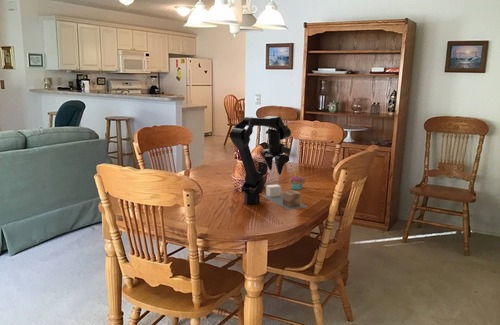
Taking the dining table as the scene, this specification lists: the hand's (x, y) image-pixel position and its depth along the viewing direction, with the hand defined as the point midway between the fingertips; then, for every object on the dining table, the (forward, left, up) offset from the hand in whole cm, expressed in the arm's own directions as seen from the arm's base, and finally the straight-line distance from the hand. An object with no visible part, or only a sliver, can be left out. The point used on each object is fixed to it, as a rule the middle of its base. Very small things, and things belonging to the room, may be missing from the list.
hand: (275, 172), depth 211 cm
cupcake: (+19, +9, -13) cm, 25 cm away
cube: (-1, -17, -12) cm, 21 cm away
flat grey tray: (-1, -10, -13) cm, 16 cm away
